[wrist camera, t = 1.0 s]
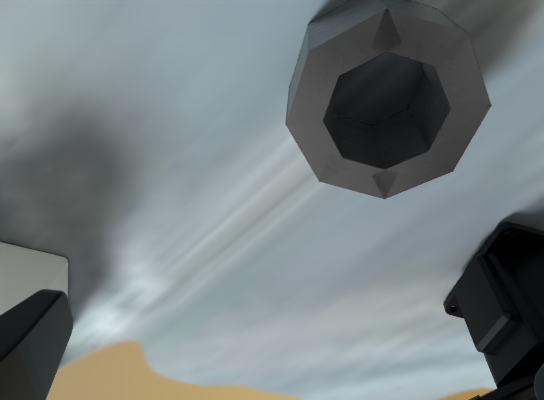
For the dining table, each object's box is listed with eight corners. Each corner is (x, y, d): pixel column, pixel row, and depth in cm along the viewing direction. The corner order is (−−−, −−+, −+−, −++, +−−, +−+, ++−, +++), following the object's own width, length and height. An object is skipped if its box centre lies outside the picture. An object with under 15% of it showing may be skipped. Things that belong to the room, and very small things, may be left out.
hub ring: (481, 22, 17) (524, 50, 14) (409, 162, 21) (429, 211, 17) (323, -28, 16) (327, -12, 13) (277, 125, 20) (271, 168, 17)
